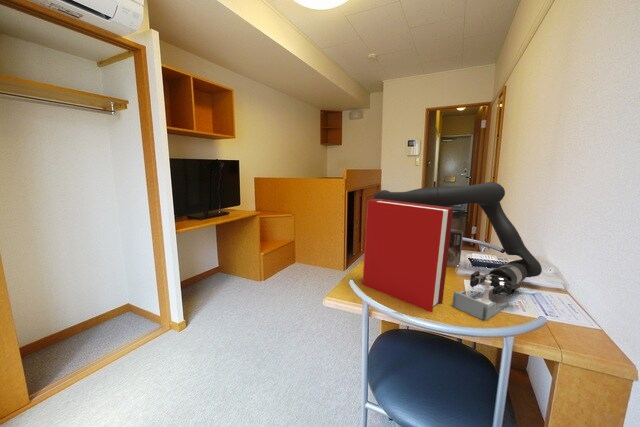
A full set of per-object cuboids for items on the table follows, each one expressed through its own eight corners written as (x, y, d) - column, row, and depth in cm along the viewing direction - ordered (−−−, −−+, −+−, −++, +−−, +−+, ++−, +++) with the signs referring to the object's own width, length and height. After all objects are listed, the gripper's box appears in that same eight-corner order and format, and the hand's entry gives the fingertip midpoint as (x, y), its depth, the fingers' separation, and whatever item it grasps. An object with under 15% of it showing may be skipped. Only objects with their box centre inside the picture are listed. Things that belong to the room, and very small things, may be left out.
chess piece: (473, 300, 92) (476, 272, 90) (486, 300, 92) (490, 272, 91) (482, 307, 87) (487, 278, 85) (497, 307, 88) (501, 278, 86)
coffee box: (460, 263, 127) (464, 230, 124) (458, 267, 122) (462, 233, 119) (439, 259, 132) (442, 227, 129) (436, 263, 127) (440, 230, 124)
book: (442, 303, 89) (453, 207, 84) (432, 312, 83) (443, 210, 78) (372, 278, 108) (377, 198, 102) (360, 284, 102) (365, 200, 97)
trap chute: (452, 306, 88) (453, 291, 87) (478, 293, 97) (479, 280, 96) (484, 320, 80) (487, 305, 79) (509, 305, 89) (511, 291, 88)
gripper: (485, 260, 101) (461, 269, 92) (531, 273, 90) (509, 285, 80) (482, 279, 103) (458, 290, 93) (527, 295, 91) (505, 308, 82)
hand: (482, 287), depth 87 cm, fingers open, 6 cm apart
